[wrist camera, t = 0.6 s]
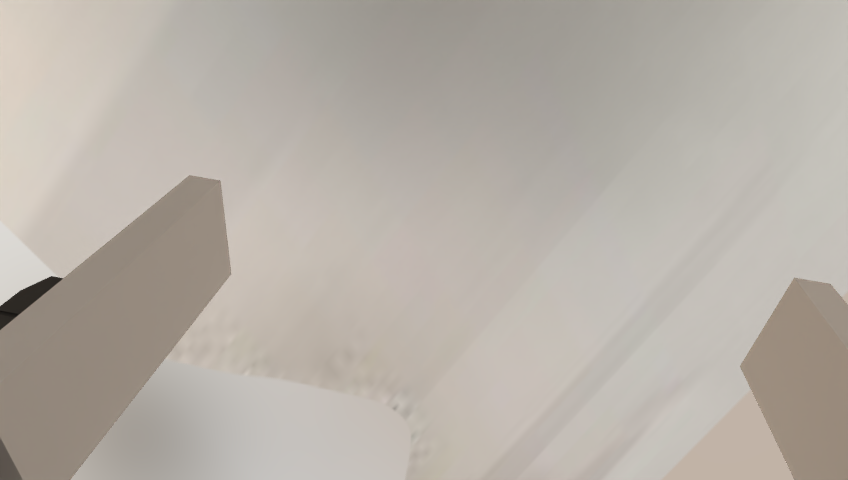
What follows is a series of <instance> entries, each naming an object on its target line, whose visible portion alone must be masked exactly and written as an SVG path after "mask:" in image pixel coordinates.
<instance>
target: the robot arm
mask: <svg viewBox="0 0 848 480" xmlns="http://www.w3.org/2000/svg"><path fill="white" fill-rule="evenodd" d="M230 275H231V267H230V259H229V250H228V241H227V233H226V224H225V216H224V207H223V199H222V190H221V181H220V180H214V179H208V178H202V177H196V176H190V175H189V176H188V177H187V178H186V179H184V180H183V181H182V182H181V183H180V184H178V185H177V186H176V187H175V188H173V189H172V190H171V191H170V192H169V193H167V194H166V195H165V196H164V197H162V198H161V199H160V200H159V201H158V202H156V203H155V204H154V205H153V206H151V207H150V208H149V209H148V210H147V211H145V212H144V213H143V214H142V215H140V216H139V217H138V218H137V219H136V220H134V221H133V222H132V223H131V224H129V225H128V226H127V227H126V228H125V229H123V230H122V231H121V232H120V233H118V234H117V235H116V236H115V237H114V238H112V239H111V240H110V241H109V242H107V243H106V244H105V245H104V246H103V247H101V248H100V249H99V250H98V251H96V252H95V253H94V254H93V255H91V256H90V257H89V258H88V259H87V260H85V261H84V262H83V263H82V264H80V265H79V266H78V267H77V268H76V269H74V270H73V271H72V272H71V273H69V274H68V275H67V276H66V277H65V278H58V277H52V276H51V277H49V278H47V279H45V280H42V281H40V282H38V283H36V284H34V285H32V286H29V287H27V288H25V289H23V290H21V291H19V292H18V293H17V294H15V295H14V296H13V297H12V298H11V299H9V300H8V301H7V302H5V303H4V304H3V305H1V306H0V480H70V479H71V478H72V477H73V476H74V474H75V473H76V472H77V470H78V469H79V468H80V467H81V465H82V464H83V463H84V461H85V460H86V459H87V458H88V456H89V455H90V454H91V453H92V451H93V450H94V449H95V447H96V446H97V445H98V444H99V442H100V441H101V440H102V439H103V437H104V436H105V435H106V433H107V432H108V431H109V430H110V428H111V427H112V426H113V424H114V423H115V422H116V421H117V419H118V418H119V417H120V415H121V414H122V413H123V411H124V410H125V409H126V408H127V407H128V405H129V404H130V403H131V401H132V400H133V399H134V398H135V396H136V395H137V394H138V392H139V391H140V390H141V389H142V387H143V386H144V385H145V383H146V382H147V381H148V380H149V378H150V377H151V376H152V375H153V373H154V372H155V371H156V369H157V368H158V367H159V366H160V364H161V363H162V362H163V361H164V359H165V358H166V357H167V355H168V354H169V353H170V352H171V350H172V349H173V348H174V346H175V345H176V344H177V343H178V341H179V340H180V339H181V337H182V336H183V335H184V334H185V332H186V331H187V330H188V329H189V327H190V326H191V325H192V323H193V322H194V321H195V320H196V318H197V317H198V316H199V314H200V313H201V312H202V311H203V309H204V308H205V307H206V306H207V304H208V303H209V302H210V300H211V299H212V298H213V297H214V295H215V294H216V293H217V291H218V290H219V289H220V288H221V286H222V285H223V284H224V283H225V281H226V280H227V279H228V277H229V276H230ZM740 367H741V370H742V372H743V374H744V376H745V378H746V380H747V382H748V384H749V386H750V388H751V390H752V392H753V394H754V396H755V399H756V401H757V403H758V405H759V407H760V408H761V411H762V413H763V415H764V417H765V419H766V421H767V424H768V426H769V428H770V430H771V432H772V434H773V436H774V438H775V440H776V442H777V444H778V446H779V448H780V451H781V452H782V455H783V457H784V459H785V461H786V463H787V465H788V467H789V469H790V471H791V473H792V475H793V478H794V480H848V305H847V303H846V302H845V301H844V300H843V298H842V297H841V296H840V295H839V294H838V292H837V291H836V290H835V289H834V288H833V286H832V285H831V284H828V283H822V282H816V281H810V280H804V279H798V278H794V279H793V281H792V282H791V284H790V286H789V287H788V289H787V291H786V292H785V294H784V295H783V297H782V299H781V300H780V302H779V304H778V305H777V307H776V308H775V310H774V312H773V313H772V315H771V317H770V318H769V320H768V321H767V323H766V325H765V326H764V328H763V330H762V331H761V333H760V334H759V336H758V338H757V339H756V341H755V343H754V344H753V346H752V348H751V349H750V351H749V352H748V354H747V356H746V357H745V359H744V361H743V362H742V364H741V365H740Z"/></svg>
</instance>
